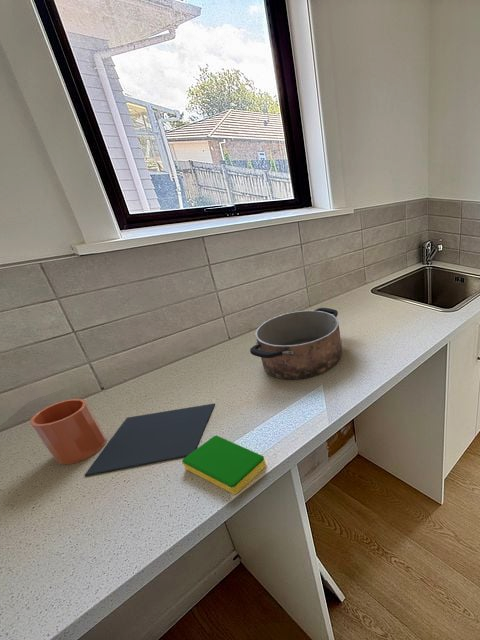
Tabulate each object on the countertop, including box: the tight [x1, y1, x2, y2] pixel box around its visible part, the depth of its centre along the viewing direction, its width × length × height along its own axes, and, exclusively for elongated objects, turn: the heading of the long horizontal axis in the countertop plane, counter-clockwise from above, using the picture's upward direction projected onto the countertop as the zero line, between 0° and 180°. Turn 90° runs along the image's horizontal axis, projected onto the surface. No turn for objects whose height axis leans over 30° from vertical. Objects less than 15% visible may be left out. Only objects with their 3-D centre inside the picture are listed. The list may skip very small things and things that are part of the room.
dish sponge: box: [181, 435, 267, 495], centre depth 64 cm, size 7×14×2 cm, turn 66°
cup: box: [29, 398, 107, 466], centre depth 66 cm, size 8×8×10 cm
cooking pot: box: [249, 307, 343, 381], centre depth 98 cm, size 30×22×11 cm
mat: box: [84, 403, 216, 477], centre depth 72 cm, size 18×16×1 cm
